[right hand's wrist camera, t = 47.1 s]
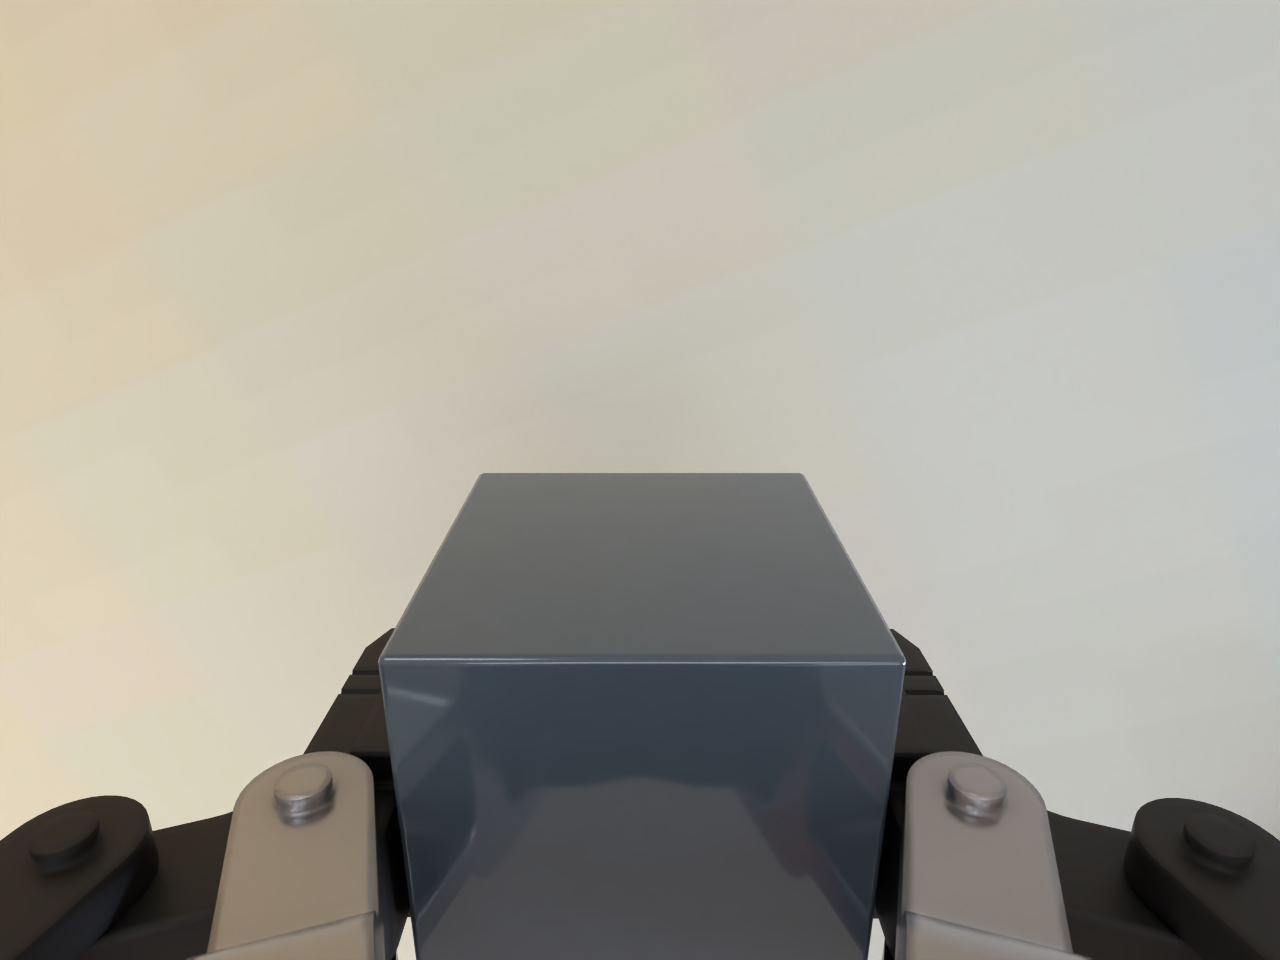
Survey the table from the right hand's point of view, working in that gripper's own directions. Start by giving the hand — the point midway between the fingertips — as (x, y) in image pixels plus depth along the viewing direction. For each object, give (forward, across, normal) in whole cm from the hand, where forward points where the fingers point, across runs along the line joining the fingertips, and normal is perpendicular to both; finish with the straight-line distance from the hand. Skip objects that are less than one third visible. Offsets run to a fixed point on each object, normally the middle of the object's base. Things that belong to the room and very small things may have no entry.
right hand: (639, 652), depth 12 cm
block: (+1, 0, 0) cm, 1 cm away
